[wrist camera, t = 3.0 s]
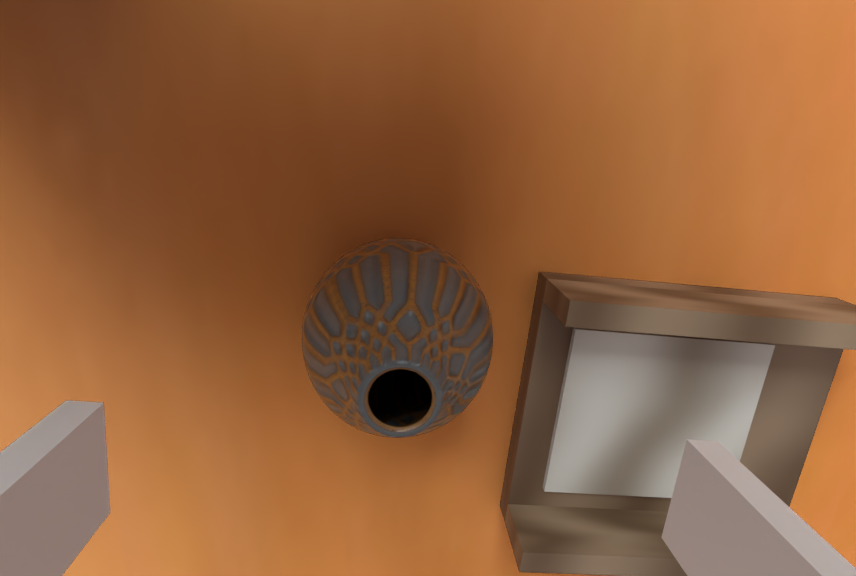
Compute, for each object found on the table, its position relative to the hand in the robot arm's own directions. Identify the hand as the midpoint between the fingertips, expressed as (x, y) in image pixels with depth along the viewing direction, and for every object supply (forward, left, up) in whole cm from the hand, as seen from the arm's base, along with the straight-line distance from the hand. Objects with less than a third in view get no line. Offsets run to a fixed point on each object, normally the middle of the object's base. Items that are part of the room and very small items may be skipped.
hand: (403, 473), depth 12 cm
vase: (0, 0, -12) cm, 12 cm away
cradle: (+13, -4, -12) cm, 18 cm away
